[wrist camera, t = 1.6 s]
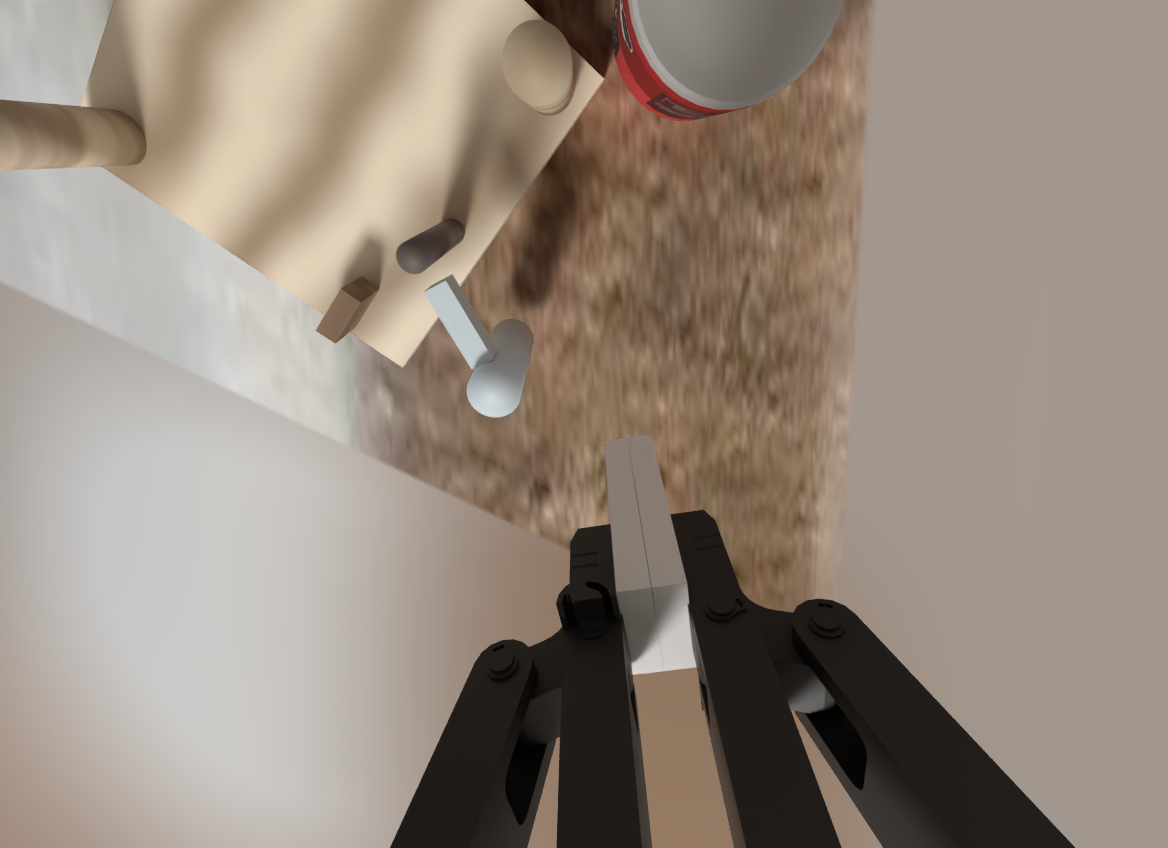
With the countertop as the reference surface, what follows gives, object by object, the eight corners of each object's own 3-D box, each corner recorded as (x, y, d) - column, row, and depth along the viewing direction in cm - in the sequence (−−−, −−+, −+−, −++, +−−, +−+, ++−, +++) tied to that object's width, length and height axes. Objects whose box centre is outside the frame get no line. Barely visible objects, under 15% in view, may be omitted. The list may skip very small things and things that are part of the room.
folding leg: (504, 365, 33) (484, 425, 26) (446, 267, 30) (405, 303, 23) (540, 348, 33) (530, 404, 26) (484, 246, 30) (455, 277, 23)
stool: (106, 144, 30) (-109, 142, 20) (247, -264, 23) (15, -551, 13) (413, 353, 36) (355, 426, 26) (602, 84, 29) (613, 53, 19)
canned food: (691, -107, 25) (762, -269, 15) (788, 38, 28) (901, -22, 18) (579, 33, 28) (578, -30, 18) (677, 153, 30) (724, 156, 20)
